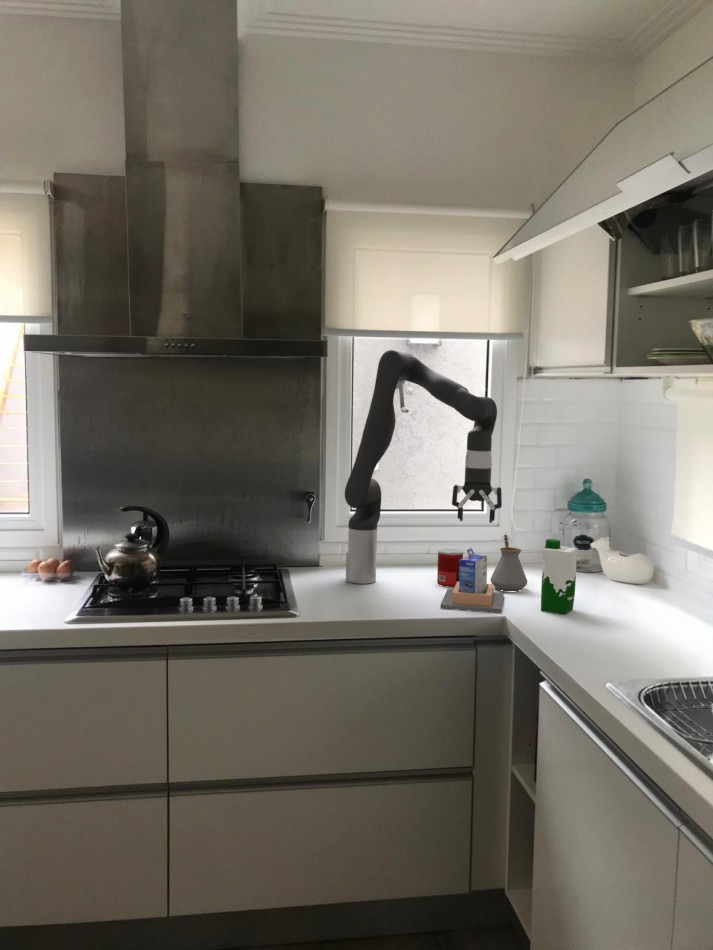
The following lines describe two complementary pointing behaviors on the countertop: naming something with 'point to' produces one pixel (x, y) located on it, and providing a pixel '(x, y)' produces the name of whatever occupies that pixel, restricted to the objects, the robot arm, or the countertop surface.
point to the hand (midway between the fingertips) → (476, 521)
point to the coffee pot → (509, 570)
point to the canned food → (448, 566)
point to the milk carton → (558, 577)
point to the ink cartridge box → (473, 574)
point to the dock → (473, 600)
